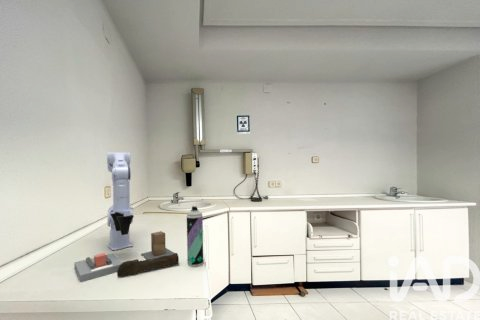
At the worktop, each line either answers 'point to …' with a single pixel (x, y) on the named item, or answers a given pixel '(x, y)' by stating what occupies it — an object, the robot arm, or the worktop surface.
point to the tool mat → (150, 256)
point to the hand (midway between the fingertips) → (121, 232)
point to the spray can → (194, 237)
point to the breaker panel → (89, 271)
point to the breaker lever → (100, 260)
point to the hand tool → (146, 265)
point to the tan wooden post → (158, 243)
